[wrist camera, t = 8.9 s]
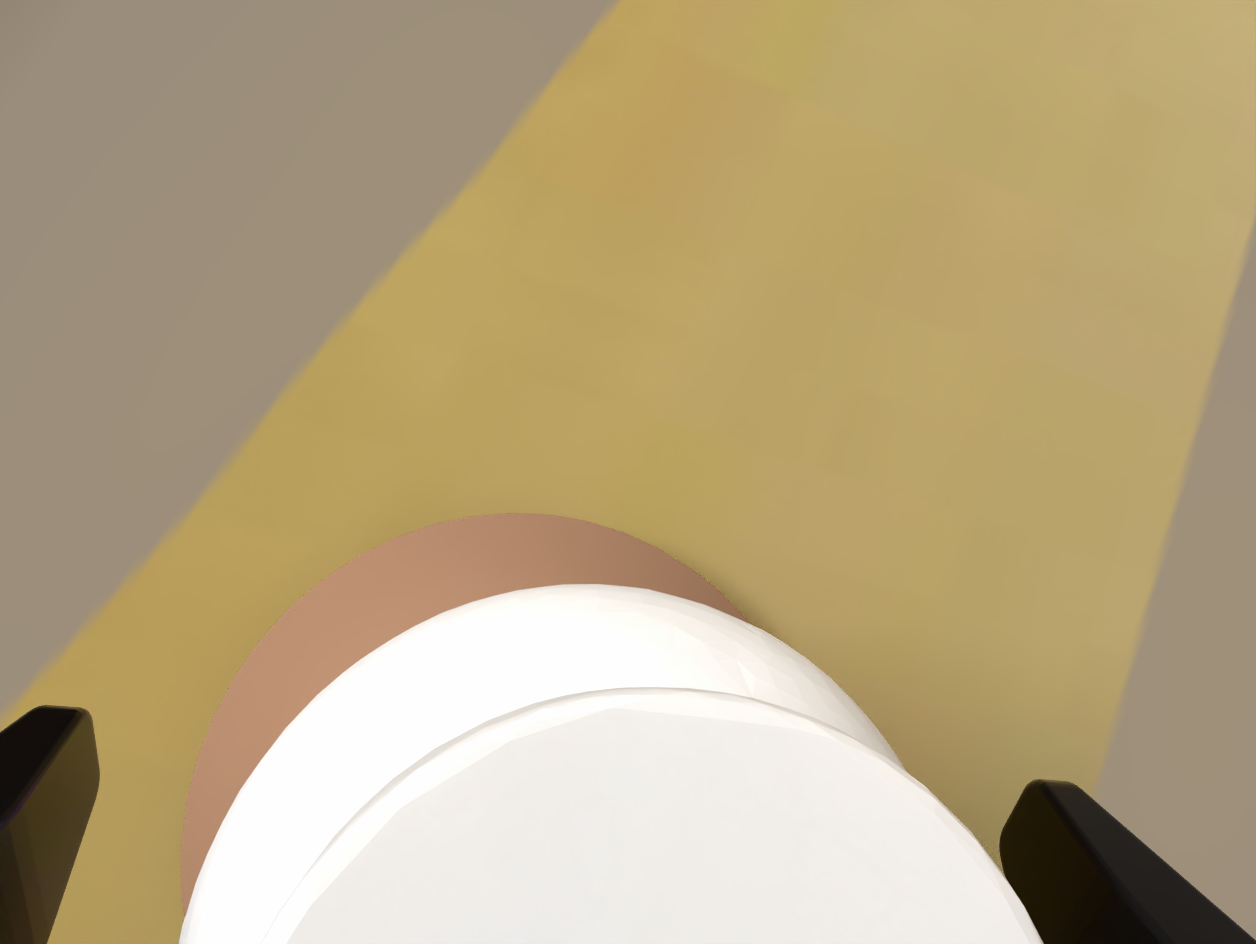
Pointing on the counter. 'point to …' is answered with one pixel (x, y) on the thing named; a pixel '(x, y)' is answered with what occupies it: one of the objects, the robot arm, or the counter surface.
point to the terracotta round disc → (400, 629)
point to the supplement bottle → (592, 796)
